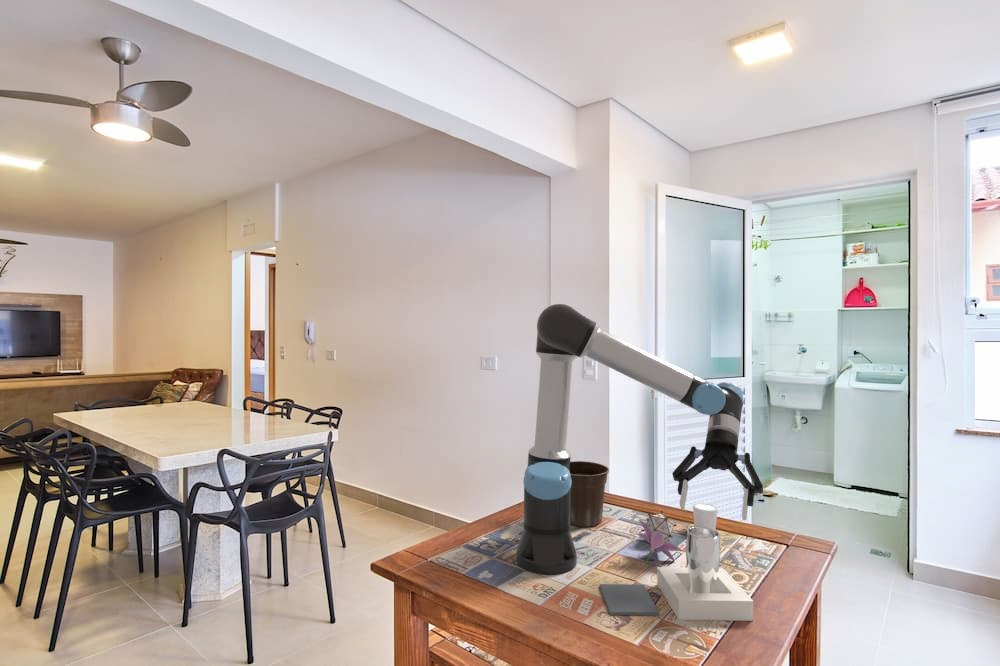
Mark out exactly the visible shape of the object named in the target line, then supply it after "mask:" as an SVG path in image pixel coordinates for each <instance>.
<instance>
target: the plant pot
mask: <svg viewBox="0 0 1000 666" xmlns="http://www.w3.org/2000/svg"><path fill="white" fill-rule="evenodd" d="M609 472H610V468H609V467H608V466H606V465H605V464H602V463H599V462H592V461H585V460H582V461H581V460H579V461H578V460H575V461H571V460H570V475H571V481H572V484H571V500H570V526H572V525H575V526H576V527H577V528H579V527H580V528H591V526H592V527H595V526H598V525H600V523H602V521H603V511H604V501H605V500H604V499H605V490H606V484H607V478H608V473H609Z"/></svg>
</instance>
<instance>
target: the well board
mask: <svg viewBox="0 0 1000 666" xmlns="http://www.w3.org/2000/svg"><path fill="white" fill-rule="evenodd" d="M656 573H657V574H656V575H657V577H656V578H657V579H656V582H657V583H656V584H658V585H657V587H658V589H661V590H660V592H661V593H662V594H663V596H664V598H665V600H666V601H667V603H668V604H669V606H670V607H671V609H672V611H673V613H674V614H675V616H676V618H677V619H678V621H734V622H735V621H740V622H741V621H742V622H746V621H748V622H750V621H751V622H753V621H754V602H755V601H754V599H752V598H751V597H750V596H749V594H747V592H746V591H745V590H744V589H743V588H742V587H741V585H739V583H738V582H737V581H736V580H735V579H734V578H733V577H732V576H731V575H730V574H729V573H728V572H727V571H726V569H725V568H723V567H719V570H718V575H717V580H716V593H688V592H689V585H690V582H689V573H688V567H686V566H685V567H684V566H682V567H681V566H680V567H677V566H672V567H671V566H657V572H656Z"/></svg>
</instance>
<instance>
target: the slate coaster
mask: <svg viewBox="0 0 1000 666" xmlns="http://www.w3.org/2000/svg"><path fill="white" fill-rule="evenodd" d="M599 589H600V591H601V595H602V596H603V599H604V602H605V604H606V608H607V610H608V612H609V615H610V616H660V612H659V610H658V608H657V606H656V603H655V602H654V601H653V598H652V597H651V595H650V594H649V591H648V590H647V588H646V586H645V585H644V584H636V583H635V584H632V583H630V584H625V583H624V584H622V583H620V584H619V583H615V584H614V583H599Z"/></svg>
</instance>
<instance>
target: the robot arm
mask: <svg viewBox="0 0 1000 666" xmlns="http://www.w3.org/2000/svg"><path fill="white" fill-rule="evenodd" d="M536 330H537V336H536V345H535V346H536V347H535V353H536V355H538V357H539V359H540V369H539V380H538V381H539V383H538V392H537V393H538V395H537V408H536V418H535V419H536V422H535V423H536V424H535V434H534V445H533V446H532V447H531V448H529V449H528V455H527V466H526V469H525V471H524V476H523V480H522V481H523V482H522V483H523V530H522V532H521V535H520V539H519V541H518V545H517V548H516V551H515V552H516V553H515V556H516V557H515V561H516V563H517V565H518V566H520V567H521V568H522V569H524V570H526V571H528V572H533V573H536V574H542V575H543V574H544V575H558V574H563V573H567V572H569V571H571V570H573V569H574V568H575V567H576V566H577V563H578V562H577V560H578V556H577V555H578V554H577V550H576V547H575V544H574V540H573V536H572V534H571V525H570V500H571V484H572V481H571V475H570V462H571V453H570V452H569V450H568V449H567V437H568V421H569V409H570V398H571V395H570V394H571V384H572V383H571V382H572V370H573V362H574V360H575V359H577V358H583V357H587V358H590V359H591V360H593V361H595V362H598V363H599V364H601V365H604V366H605V367H608V368H609V369H611V370H614V371H616V372H618V373H620V374H622V375H624V376H626V377H628V378H629V379H632V380H634V381H636V382H638V383H641V384H642V385H644V386H647V387H649V388H651V389H653V390H654V391H657V392H659V393H661V394H663V395H665V396H667V397H669V398H671V399H674V400H675V401H677V402H679V403H680V404H682V405H685V406H687V407H689V408H691V409H693V410H695V411H696V412H698V413H700V414H702V415H707V416H709V417H708V418H709V419H708V425H707V430H706V437H705V444H704V448H703V449H698V448H697V447H696V446H694V445H692V446H691V448H690V449H689V453H688V454H687V455H686V456H685V458H684V459H683V460H682V461H681V462H680V463H679V465H678V466H676V468H675V469H674V470H673V472H672V478H673V481H675V482H678V486H677V493H678V495H679V496H680V499H679V507H680V510H682V511H684V510H685V508H686V501H687V496H688V489H689V484H688V483H689V482H690V481H691V480H692V479H694V478H695V477H697V476H698V475H699V474H701V473H702V472H704V471H706V470H708V469H710V468H711V469H712V470H720V471H724V472H725V471H726V470H728V471H729V472H730V473H731V474H732V475H733V476H734V477H735V478H736V479H737V481H738V482H739V483H740V484H741V486H742V487H743V488H744V491H743V502H742V510H741V511H742V512H741V516H742V521H746V522H747V518H748V507H753V506H754V502H755V501H754V500H755V495H757V494H763V493H764V486H763V484H762V481H761V479H760V478H759V476H758V474H757V472H756V469H755V467H754V466H753V464H752V462H751V454H750V452H745V453H744V454H738V448H739V437H740V429H741V417H742V412H743V411H742V410H743V406H744V393H743V390H742V388H741V387H740V386H738V385H737V384H736V383H732V382H730V383H729V382H726V381H725V382H720V383H718V384H716V383H714V382H709V381H707V380H705V379H703V378H701V377H699V376H698V375H694V374H693V373H690V372H689V371H687V370H685V369H683V368H681V367H679V366H677V365H674V364H672V363H670V362H669V361H666V360H664V359H662V358H660V357H659V356H656V355H654V354H652V353H650V352H648V351H646V350H644V349H642V348H639V347H637V346H635V345H633V344H631V343H629V342H628V341H625V340H624V339H622V338H619V337H617V336H615V335H613V334H611V333H610V332H607V331H605V330H603V329H601V328H600V327H599V323H598V322H596V321H594V320H592V319H590V318H588V317H587V316H585V315H584V314H581V312H579V311H577V310H576V309H575V308H574V307H572V306H570V305H568V304H564V303H563V304H562V303H556V304H552V305H549V306H547V307H546V308H544V309H543V311H542V312H541V313H540V314H539V317H538V318H537V323H536ZM701 456H702V458H700V460H699V462H696V463H695V461H696V459H698V458H699V457H701ZM739 461H740V462H741V464H742V465H744V467H745V469H746V471H747V473H748V475H749V478H750V480H751V481H750V480H749V479H748V478H747V477H746V475H745V474H744V473H743V471H742V470H740V469H739V467H738V465H737V464H736V463H737V462H739ZM694 463H695V464H694ZM693 464H694V465H693ZM692 465H693V466H692ZM752 483H753V484H752Z"/></svg>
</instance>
